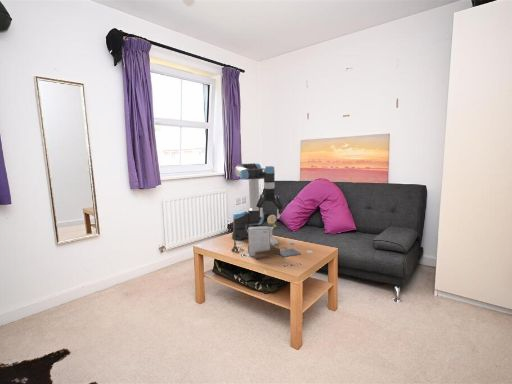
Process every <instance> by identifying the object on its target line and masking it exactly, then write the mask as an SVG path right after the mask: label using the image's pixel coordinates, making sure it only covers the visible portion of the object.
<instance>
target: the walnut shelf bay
mask: <svg viewBox="0 0 512 384" xmlns="http://www.w3.org/2000/svg"><path fill="white" fill-rule="evenodd" d="M270 249H271V250H266V251H260V252H255V256H254V257H255V260H256V261H257V260H262V259H268V258H274V257H279V256H281V255H280V250H281V249H280V248H279V247H278V246H276V244H275V245H274V244H272V243H271V242H270ZM247 253H248V254H249V245H247Z"/></svg>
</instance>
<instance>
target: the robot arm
mask: <svg viewBox="0 0 512 384" xmlns="http://www.w3.org/2000/svg"><path fill="white" fill-rule="evenodd" d="M233 174H234V175H235V176H236V177H238V178H240V179H241V180H245V181H246V180H247V181H248V190H249V191H248V192H249V195H248V197H249V209H248V210H247V211H246V210H237V211H235V212H234V213H233V214H232V221H233V223H232V224H233V230H232V233H231V239H233V240H234V236H235V241H236V240H237V241H242V240H243V241H245V240H248V228H247V227H248V226H256V225H262V224H263V222H264V219H265V216H264V215H265V214H264V211H263V206H264V204H265V203H266V202H272V203H273V205H275V207H276V208H277V210H276V213H277V215H276V219H277V220H278V219H280V218H281V217H280V216H281V214H282V209H284V206H283V203H282V201H281V199H280V195H279V194H278V195H275V194H276V192H275V191H276V190H275V183H276V182H275V166H273V165H271V166H270V165H269V166H268V165H267V166H266V165H265V166H264V167H263V168H262V166H261V164H260V163H255V162H254V163H240V164H238V165H236V166H235V167H234V169H233ZM259 180H263V194H262V193H261V194H260V186H259V185H260V184H259V182H260V181H259ZM263 198H264V199H263Z"/></svg>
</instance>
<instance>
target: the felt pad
mask: <svg viewBox="0 0 512 384" xmlns="http://www.w3.org/2000/svg"><path fill="white" fill-rule="evenodd" d="M301 254H302V253H301V252H300V251H297V250H296V249H295V248H288V249H287V248H286V249H280V256H281V257H283V258H286V257H292V256H293V257H294V256H298V255H301Z"/></svg>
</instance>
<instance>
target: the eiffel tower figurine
mask: <svg viewBox="0 0 512 384" xmlns="http://www.w3.org/2000/svg"><path fill="white" fill-rule="evenodd" d="M233 240H234V242H233V246H232V249H231V253H235V252H234V251H235V250H236V251H238V249H239V248H240V250H239V251H242V252H244V251H245V249H244V248H242V247H239V246H237V241H236V240H235V236H234V239H233ZM239 251H238V252H239ZM238 252H237V253H238Z"/></svg>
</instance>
